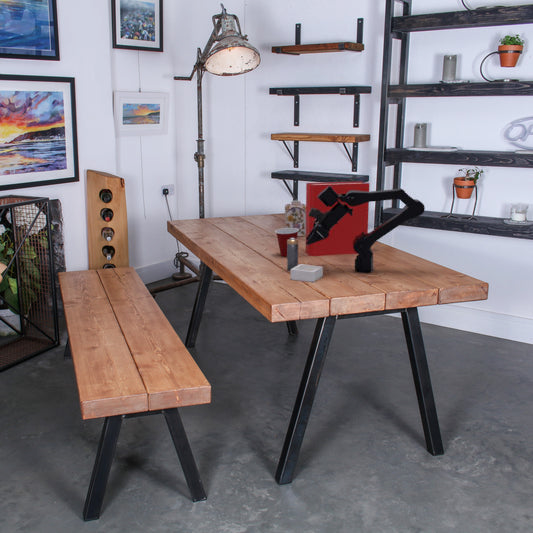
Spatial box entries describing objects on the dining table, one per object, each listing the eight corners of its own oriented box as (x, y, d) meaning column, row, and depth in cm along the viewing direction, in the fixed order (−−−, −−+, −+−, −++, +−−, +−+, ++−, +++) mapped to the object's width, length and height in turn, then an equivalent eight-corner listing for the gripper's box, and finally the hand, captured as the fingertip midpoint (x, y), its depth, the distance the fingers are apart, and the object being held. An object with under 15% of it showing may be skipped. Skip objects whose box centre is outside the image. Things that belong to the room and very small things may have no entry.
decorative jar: (307, 237, 320) (307, 202, 315) (284, 237, 320) (284, 202, 315) (306, 232, 331) (306, 199, 327) (284, 232, 331) (284, 199, 327)
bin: (322, 276, 242) (322, 266, 241) (313, 282, 234) (313, 272, 233) (300, 273, 246) (300, 264, 245) (290, 279, 238) (290, 269, 237)
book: (360, 249, 290) (362, 181, 282) (367, 253, 282) (369, 183, 274) (304, 252, 284) (305, 182, 276) (309, 256, 276) (310, 184, 269)
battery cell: (299, 269, 253) (299, 237, 250) (295, 271, 249) (295, 239, 246) (289, 268, 255) (290, 236, 252) (285, 270, 251) (285, 238, 248)
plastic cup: (271, 254, 281) (271, 228, 278) (293, 252, 284) (293, 226, 282) (280, 259, 271) (280, 232, 268) (302, 257, 275) (302, 230, 272)
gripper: (320, 197, 253) (293, 223, 257) (321, 204, 235) (291, 232, 239) (339, 216, 255) (311, 242, 258) (341, 224, 237) (311, 252, 240)
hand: (306, 241), depth 249 cm, fingers open, 9 cm apart
